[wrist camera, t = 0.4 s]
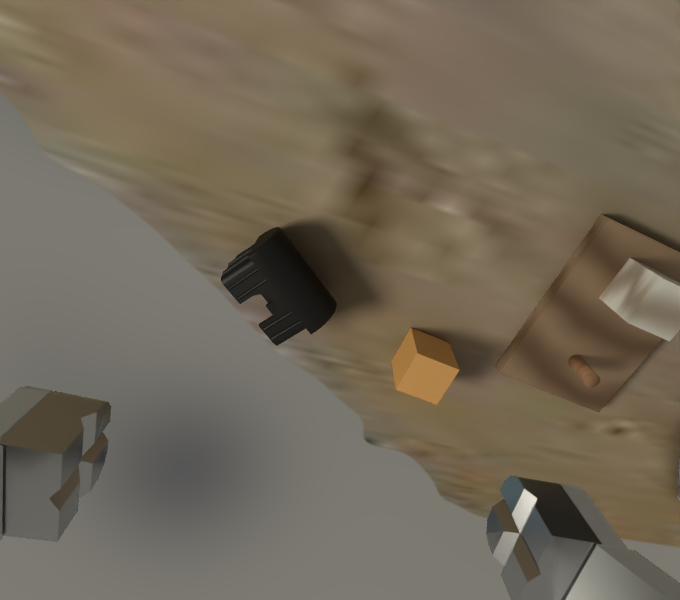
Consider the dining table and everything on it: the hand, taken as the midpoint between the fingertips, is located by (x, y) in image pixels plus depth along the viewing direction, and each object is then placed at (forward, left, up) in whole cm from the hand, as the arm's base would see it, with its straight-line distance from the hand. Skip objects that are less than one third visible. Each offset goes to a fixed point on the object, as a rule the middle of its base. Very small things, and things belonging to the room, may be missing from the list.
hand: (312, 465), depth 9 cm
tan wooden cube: (+16, +17, -39) cm, 45 cm away
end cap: (+13, -1, -39) cm, 41 cm away
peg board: (+4, +33, -39) cm, 51 cm away
